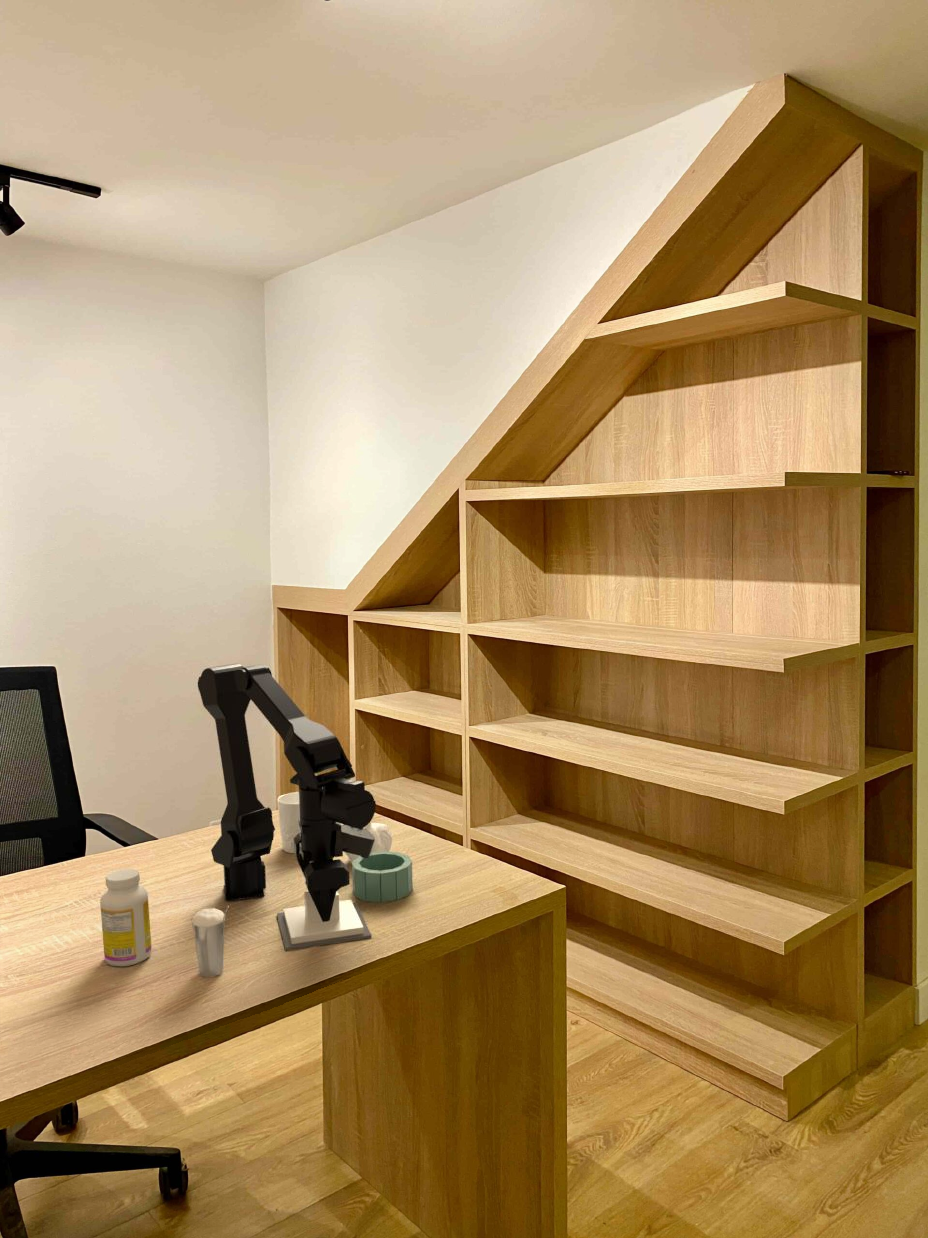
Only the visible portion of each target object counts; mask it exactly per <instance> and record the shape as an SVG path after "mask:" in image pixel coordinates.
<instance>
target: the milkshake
mask: <svg viewBox="0 0 928 1238" xmlns="http://www.w3.org/2000/svg"><path fill="white" fill-rule="evenodd" d="M229 907H230V906H229V905H227V907H226V909H225V912H223V911H222V910H220V909H219V908H218V909H217V908H214V907H212V908H202V909H200V910H198V912H196V913H195V914H194V915H193V917H192V920H191V923H192V929H193V934H194V935H193V936H194V942H195V948H196V949H195V950H196V956H197V964H198V972H199V975H200V976H201V977H203V978H213V977H214V978H215V977H218V976H219V975H221V974H223V971H224V953H225V951H224V947H225V945H224V944H225V926H226V915H227V912H228V911H229V910H228V909H229Z"/></svg>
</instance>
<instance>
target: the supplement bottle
mask: <svg viewBox="0 0 928 1238" xmlns="http://www.w3.org/2000/svg"><path fill="white" fill-rule="evenodd" d="M140 877H141V876H140V871H139V870H138V869H134V868H122V869H117V870H114V871H110V872H109V873H107V874H106V876H105V886H106V887H107V890H106V891H105V892H104V893H103V894H102V895H101V897H100V900H99V902H100V904H99V905H100V917H101V918H100V919H101V929H102V932H101V933H102V940H103V941H102V942H103V954H104V960H105V962H106V963H107V965H111V966H113V967H129V966H133V965H137V964H139V963H141V962H144V961H145V960H146V959H148V958H149V957H150V956H151V954H152V950H153V949H152V935H151V922H150V921H151V920H150V919H151V918H150V908H149V907H150V906H149V894H148V891H147V889H146V888H145V887H144V886H143V885H139V884H140V880H141V878H140Z"/></svg>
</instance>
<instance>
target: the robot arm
mask: <svg viewBox="0 0 928 1238" xmlns="http://www.w3.org/2000/svg"><path fill="white" fill-rule="evenodd" d="M197 688H198V692H199V694H200V698H201V702H202V706H203V707H204V708H205V710H206V711H207V712H208V713H209V714H210V715H211V717H212V718H213V719H214V721H215V728H216V734H217V735H216V736H217V740H218V741H217V742H218V747H219V749H218V750H219V755H220V761H221V767H222V775H223V781H224V789H225V793H226V800H227V804H226V807H225V809H224V811H223V814H222V817H221V820H220V829H221V830H220V832H221V835H220V837H219V838H218V839H217V841H216V842H215V844H214V845H213V846H212V847H211V855H212V856H211V857H212V860H213V862H214V863H216V864H219V865H221V866H223V883H224V884H223V894H224V901H226V902H230V901H236V900H237V901H239V900H243V899H244V900H245V899H252V898H259V897H261V898H262V897H264V896H265V889H266V888H267V882H266V881H267V878H266V865H265V861H264V860H262V856H265V855H270V854H271V849H272V845H273V841H274V837H275V831H276V828H275V825H274V822H273V812H272V810H271V808H270V807H269V806H268V807H265V806H264V805H263V803H262V802H261V801H260V799H259V798H258V795H257V788H256V782H255V781H256V780H255V775H254V774H255V773H254V768H253V762H252V755H251V754H252V753H251V748H250V740H249V735H248V729H247V722H246V713H247V711H248V707H249V705H250V702H252V703H253V704H254V705H255V707H256V708H257V709H258V710H259V711H260V713H261V714H262V715H263V716H264V717H265V719H266V720H267V721H268V723H270V725H271V726H272V727H273V729H274V730H275V732H276V733H277V734H278V735H279V736H280V737H281V740H282V741H283V754H284V755H285V757H286V759H287V761H288V762H289V764H290V765H291V767H292V768H293V771H294V772H295V774H294V775H293V776H292V777H291V778H290V779H289V782H290V784H292V785H296V786H298V792H299V807H300V818H298V823H299V827H300V833H298V834H297V835H296V836H295V838H294V851H295V853H294V854H295V857H296V860H297V863H298V865H299V868H300V870H301V872H302V874H303V877H304V879H305V881H304V883H305V885H306V889H307V892H308V891H309V893H310V895H311V898H312V900H313V902H314V904H315V906H316V908H317V911H318V913H319V915H320V917H321V919H322V921H323V922H327V921H329V920H330V917H331V912H332V908H333V904H334V899H335V895H336V892H339V890H340V889H341V888H343V887H347V886H348V885H350V871H349V869H348V867H347V865H346V863H345V862H343V861H342V860H341V859H334V858H340V857H344V853H345V852H346V853H350V854H355V855H359V856H361V857H362V858H369V856H370V853H371V850H372V847H373V844H374V841H375V838H374V836H373V835H372V833H371V832H370V831H368V830H367V829H365V830H364V829H363V827H365V826H367V825H368V824H369V823H371V821H372V820H373V818H374V816H375V812H376V807H377V804H376V800H375V798H374V795H373V794H372V793H371V792H370V791H368V790H367V789H365V785H366V784H365V782H364V781H362V780H353V778H355V777H356V774H355V771H354V769H353V768H352V767H353V765H352V763H351V761H350V760H349V759H348V757H347V755H346V753H345V751H344V749H343V747H342V744H341V742H340V740H339V739H338V737H337V735H335V734H334V733H333V732H332V731H330V730H329V729H328V728H327V727H326V726H325V725H323V724H321V723H318V722H315V721H313V720H311V719H310V718H308V717H307V716H306V715H305V714H304V713H303V711H302V710H301V709H300V708H299V707H298V705H297V704H296V703H295V702H294V700H292V698H291V697H290V696H289V695H288V693H287V692H286V691H285V690H284V689H283V688H282V686H281V685H280V684H279V683H278V682H277V681H276V679H275V678H274V677H273V674H272V671H271V669H270V667H269V666H267V665H264V664H257V665H256V664H255V665H251V666H244V665H242V664H241V663H231V664H225V665H217V666H213V667H207V668H205V669H203V670H202V672H201V675H200V676H199V677H198V679H197ZM335 768H336V769H335ZM332 769H333V770H332ZM329 770H331V771H329ZM325 771H328V772H325ZM322 772H323V773H322ZM319 773H320V774H319ZM300 852H301V853H300ZM343 852H344V853H343ZM346 853H345V854H346Z"/></svg>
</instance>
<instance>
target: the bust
mask: <svg viewBox="0 0 928 1238" xmlns="http://www.w3.org/2000/svg"><path fill="white" fill-rule="evenodd" d="M363 829H364V830H365V829H367V830H368V831H370V832H371V833H372V835H373V836H374V838H375V841H374V844H373V847H372V850H371V853H373V852H381V851H383V852H384V851H388V852H390V850H391V848H392V844H393V837H392V831H390V827H389V826H388V825H386V824H384V823H378V822H377V823H376V822H372V823H371V822H370V823H369V824H368V825H367V826H365V827H363ZM344 853H345V855H346V856H347V858H348V859H349V861H350V863H351V864H352V862H353V861H354V860H355V859H356V858H357V857H359V855H355V854H350V853H346V852H344Z"/></svg>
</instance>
